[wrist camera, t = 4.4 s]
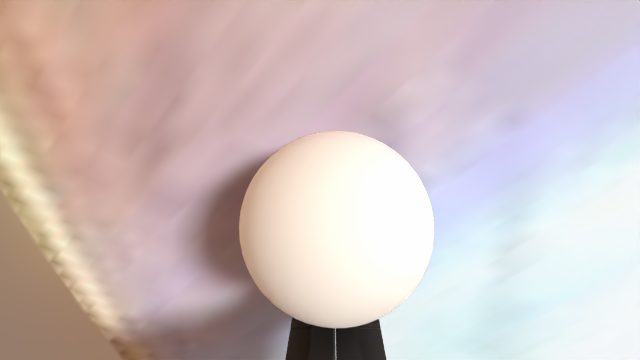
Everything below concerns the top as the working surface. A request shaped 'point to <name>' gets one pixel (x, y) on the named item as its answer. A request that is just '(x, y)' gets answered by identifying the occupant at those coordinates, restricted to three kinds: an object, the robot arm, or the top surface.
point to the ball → (336, 229)
